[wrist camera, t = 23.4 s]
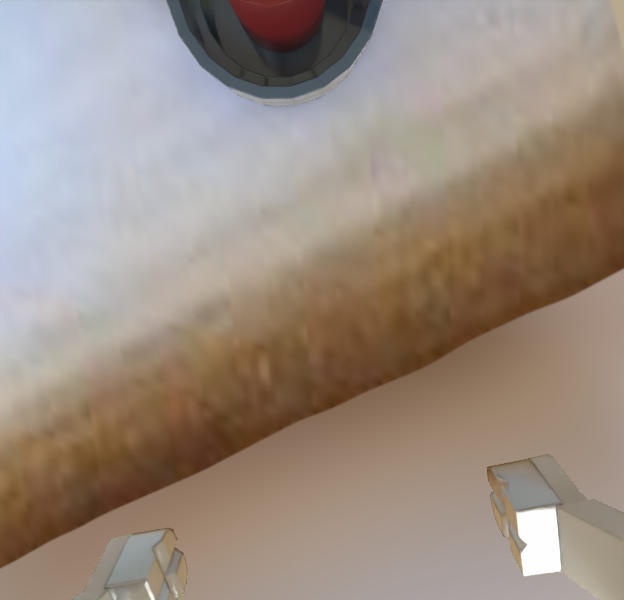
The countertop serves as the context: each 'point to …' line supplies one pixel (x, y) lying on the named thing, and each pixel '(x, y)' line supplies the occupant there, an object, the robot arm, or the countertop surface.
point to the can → (280, 22)
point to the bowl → (272, 65)
